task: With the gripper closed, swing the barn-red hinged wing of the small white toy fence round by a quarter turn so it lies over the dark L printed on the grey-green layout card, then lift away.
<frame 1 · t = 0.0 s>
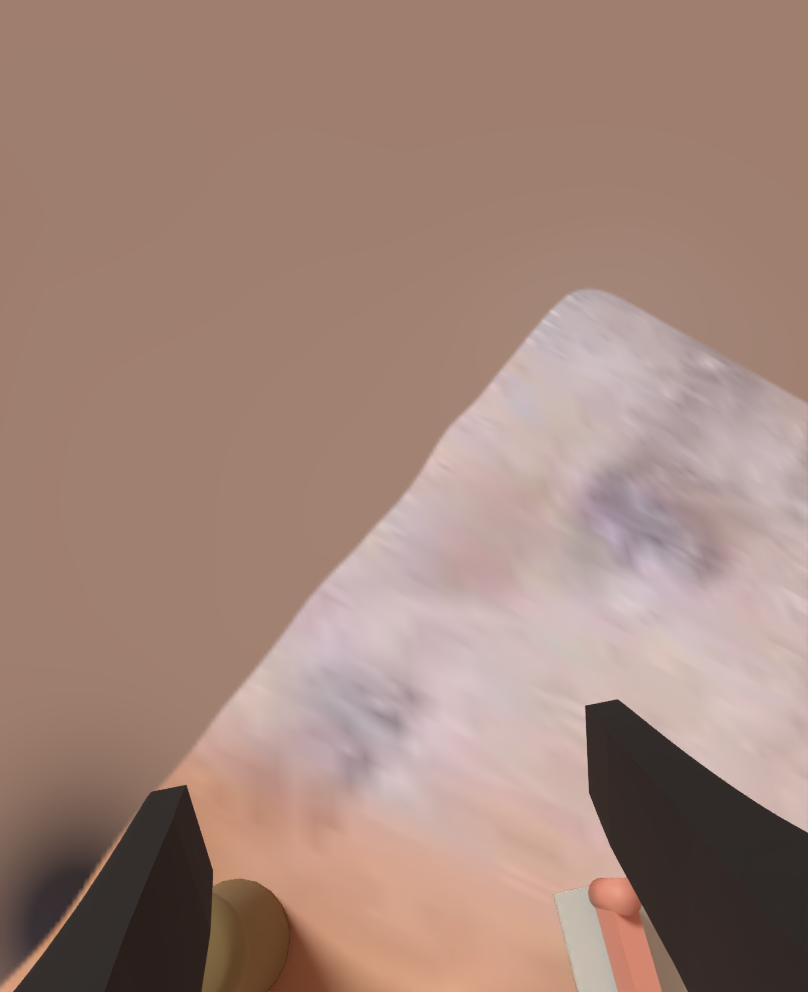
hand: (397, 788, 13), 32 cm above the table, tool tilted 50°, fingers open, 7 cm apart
cork: (234, 941, 40), on the table
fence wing: (633, 965, 37), point 3 cm above the table, hinge at 0.0°
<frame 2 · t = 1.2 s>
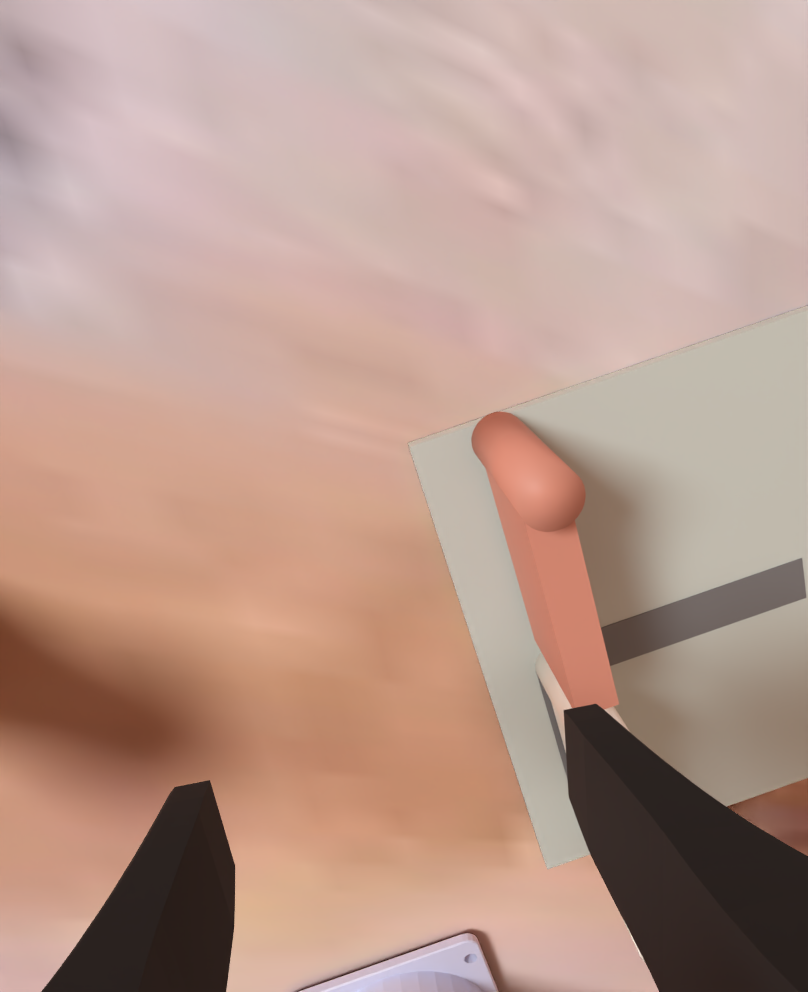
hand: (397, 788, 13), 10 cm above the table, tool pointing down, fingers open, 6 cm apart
fence base: (554, 656, 25), resting on layout card
layout card: (692, 608, 25), on the table
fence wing: (548, 566, 20), point 3 cm above the table, hinge at 0.0°
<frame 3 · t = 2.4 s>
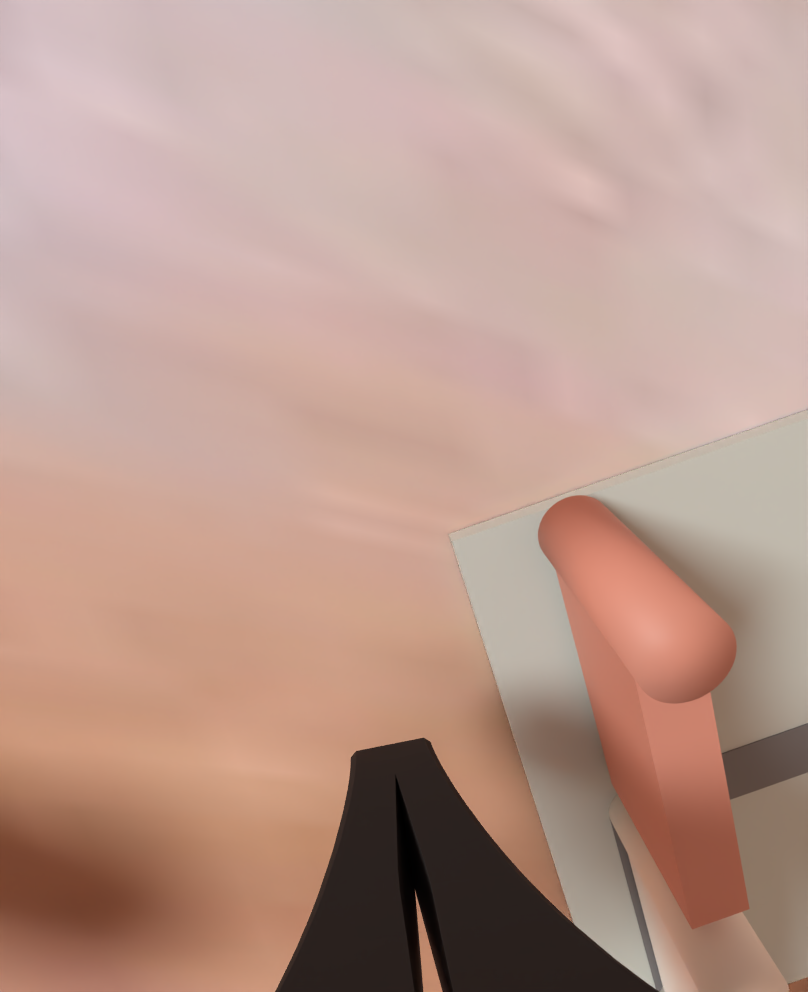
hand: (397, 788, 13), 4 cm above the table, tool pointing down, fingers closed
fence base: (632, 795, 20), resting on layout card
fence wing: (650, 715, 15), point 3 cm above the table, hinge at 0.0°
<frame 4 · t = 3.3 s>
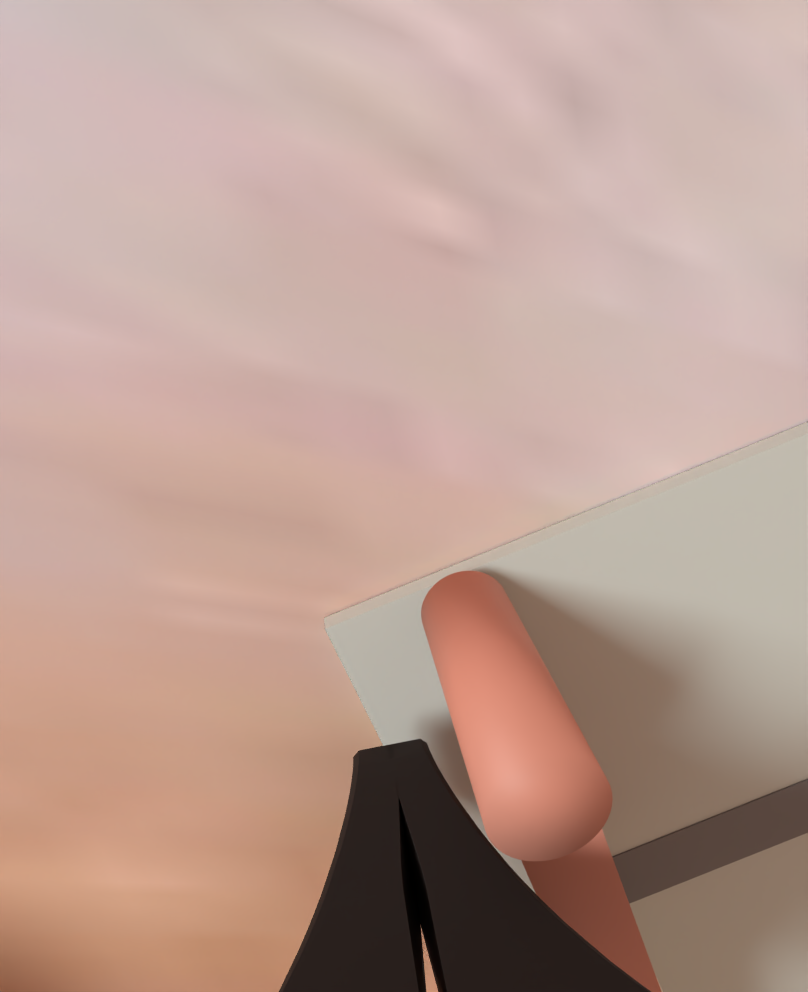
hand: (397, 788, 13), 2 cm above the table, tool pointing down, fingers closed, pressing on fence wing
layout card: (772, 801, 17), on the table
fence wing: (554, 830, 12), point 3 cm above the table, hinge at 0.0°, touching gripper
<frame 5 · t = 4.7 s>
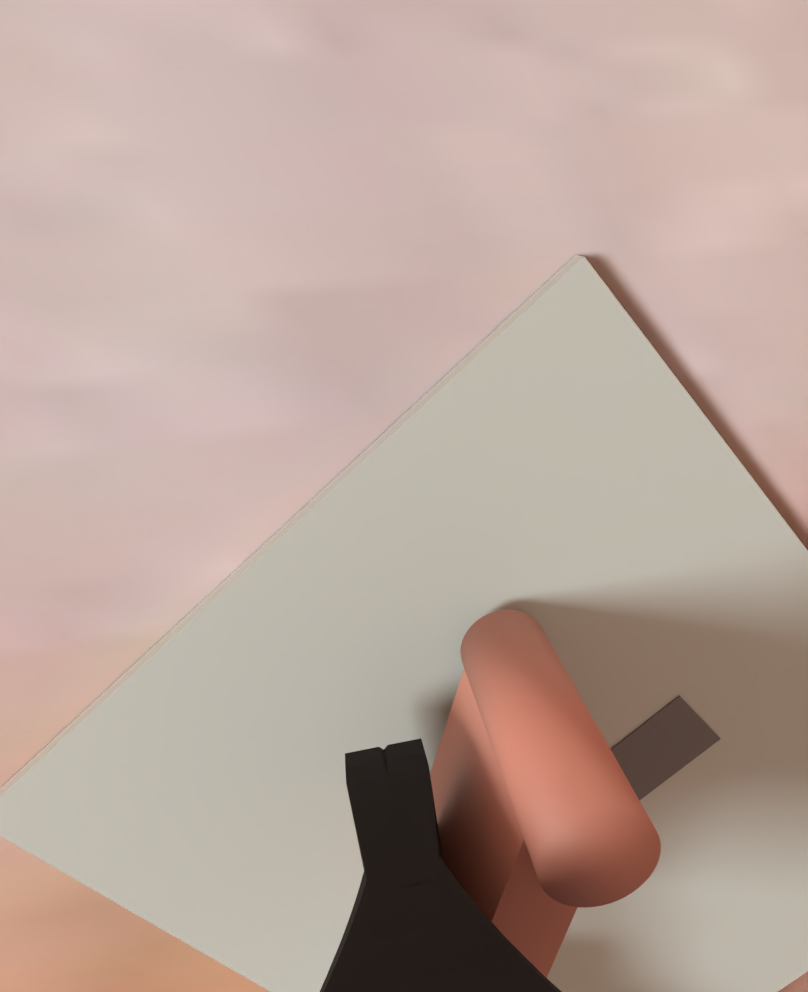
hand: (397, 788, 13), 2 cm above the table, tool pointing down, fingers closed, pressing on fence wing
layout card: (553, 810, 16), on the table
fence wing: (485, 882, 12), point 3 cm above the table, hinge at 56.8°, touching gripper
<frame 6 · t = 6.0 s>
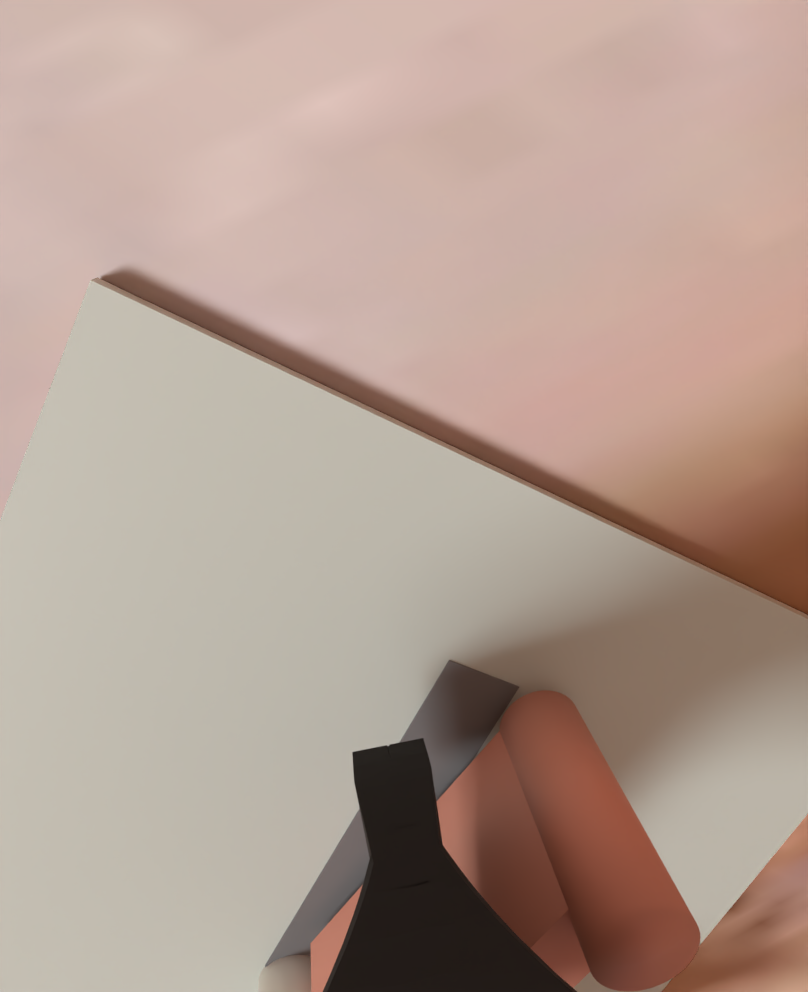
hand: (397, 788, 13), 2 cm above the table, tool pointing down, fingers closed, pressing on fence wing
fence base: (294, 962, 17), resting on layout card
layout card: (393, 802, 16), on the table
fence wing: (467, 937, 13), point 3 cm above the table, hinge at 99.5°, touching gripper
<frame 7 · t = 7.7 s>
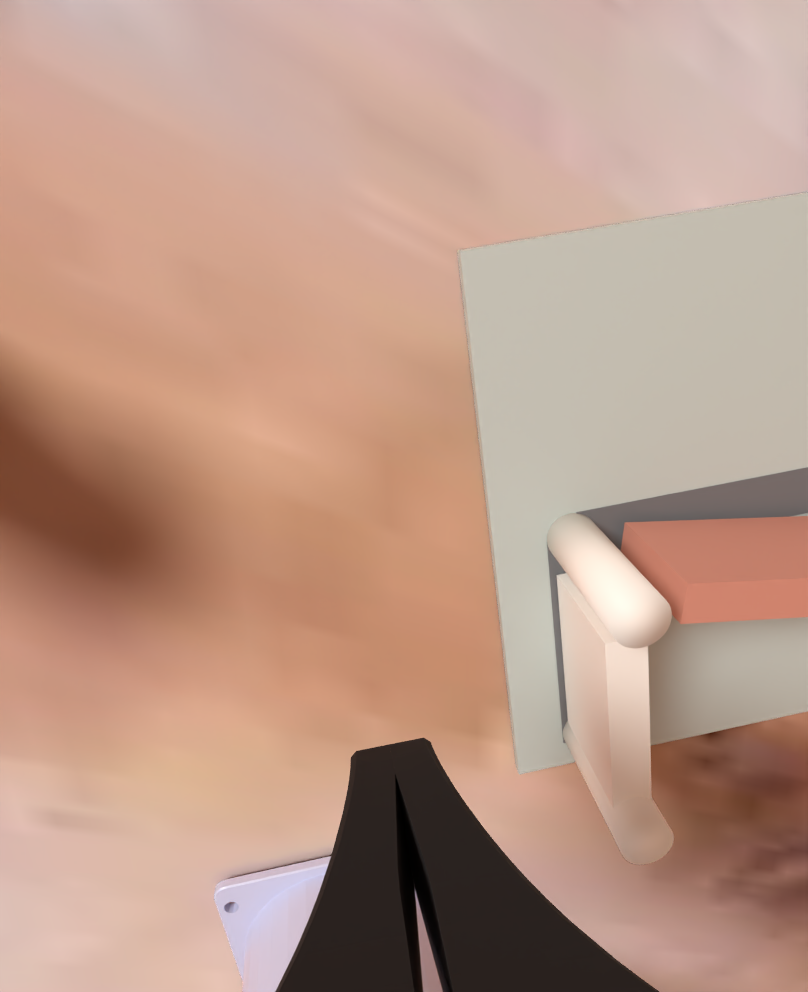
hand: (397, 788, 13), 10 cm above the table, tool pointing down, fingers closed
fence base: (567, 531, 24), resting on layout card
layout card: (716, 502, 24), on the table
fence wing: (784, 569, 21), point 3 cm above the table, hinge at 99.7°
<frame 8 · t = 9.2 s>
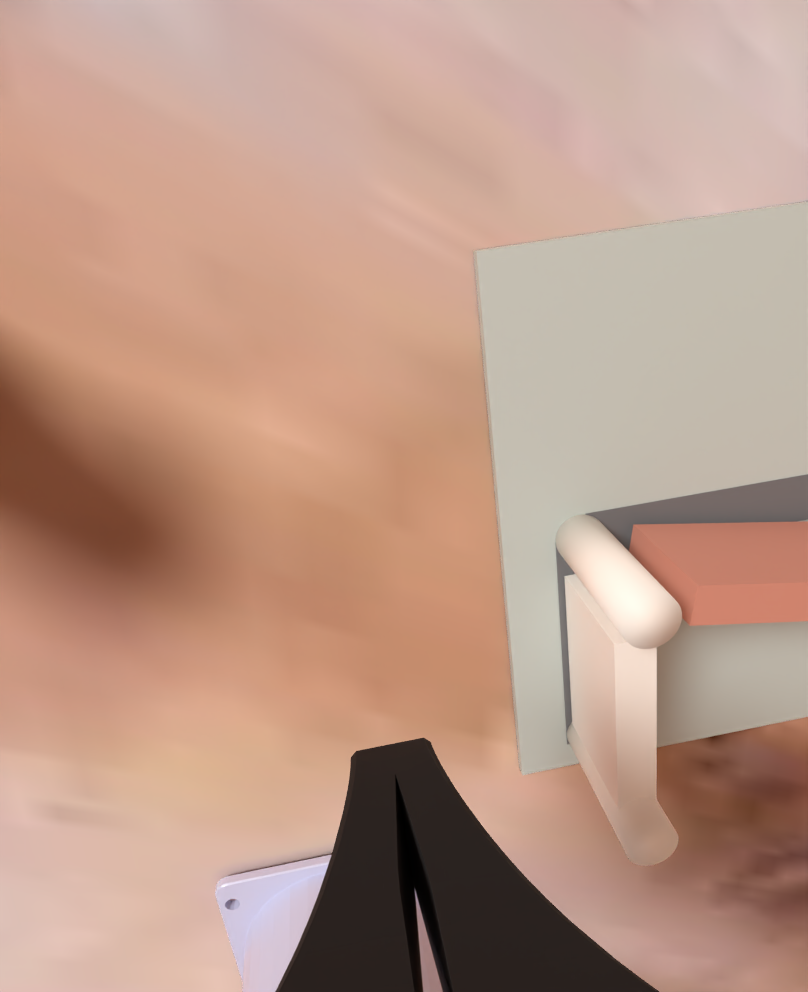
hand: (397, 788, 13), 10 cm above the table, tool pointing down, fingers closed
fence base: (575, 532, 24), resting on layout card
layout card: (724, 506, 24), on the table
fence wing: (792, 574, 22), point 3 cm above the table, hinge at 99.7°
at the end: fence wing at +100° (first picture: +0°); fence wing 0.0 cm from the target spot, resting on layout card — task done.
